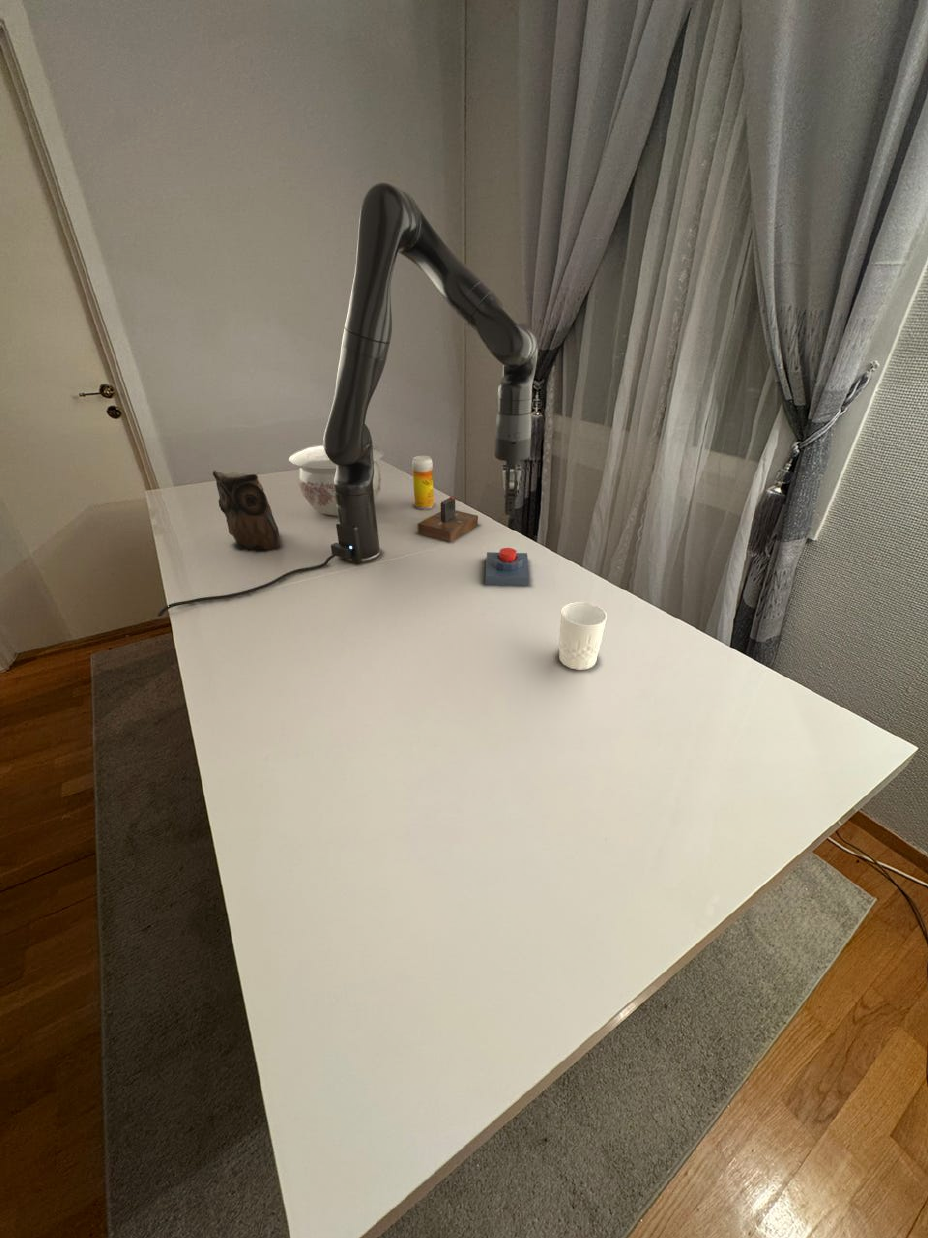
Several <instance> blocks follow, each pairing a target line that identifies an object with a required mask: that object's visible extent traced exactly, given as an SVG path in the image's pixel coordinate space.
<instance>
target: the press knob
mask: <svg viewBox="0 0 928 1238" xmlns="http://www.w3.org/2000/svg"><path fill="white" fill-rule="evenodd" d="M498 552H499V560H500V561H504V562H512V561H515V560H516V553H517V550H516V549H514V548H512V547H502V548H500V549H499V551H498Z"/></svg>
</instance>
